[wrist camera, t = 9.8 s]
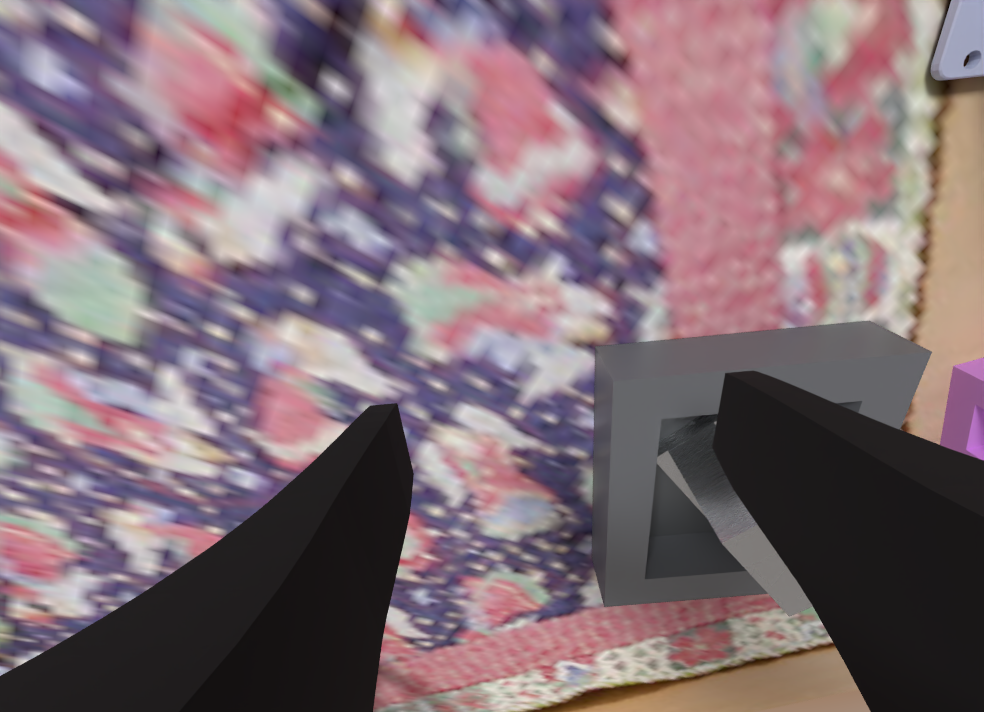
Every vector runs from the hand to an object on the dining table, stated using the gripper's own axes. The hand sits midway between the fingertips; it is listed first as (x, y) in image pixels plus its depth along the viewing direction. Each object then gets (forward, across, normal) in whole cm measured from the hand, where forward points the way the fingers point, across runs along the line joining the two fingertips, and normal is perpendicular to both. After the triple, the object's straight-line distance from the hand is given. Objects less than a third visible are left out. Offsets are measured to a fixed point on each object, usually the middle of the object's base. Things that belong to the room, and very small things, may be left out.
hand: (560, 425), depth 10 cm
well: (+9, -9, +10) cm, 16 cm away
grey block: (+9, -9, +10) cm, 16 cm away
